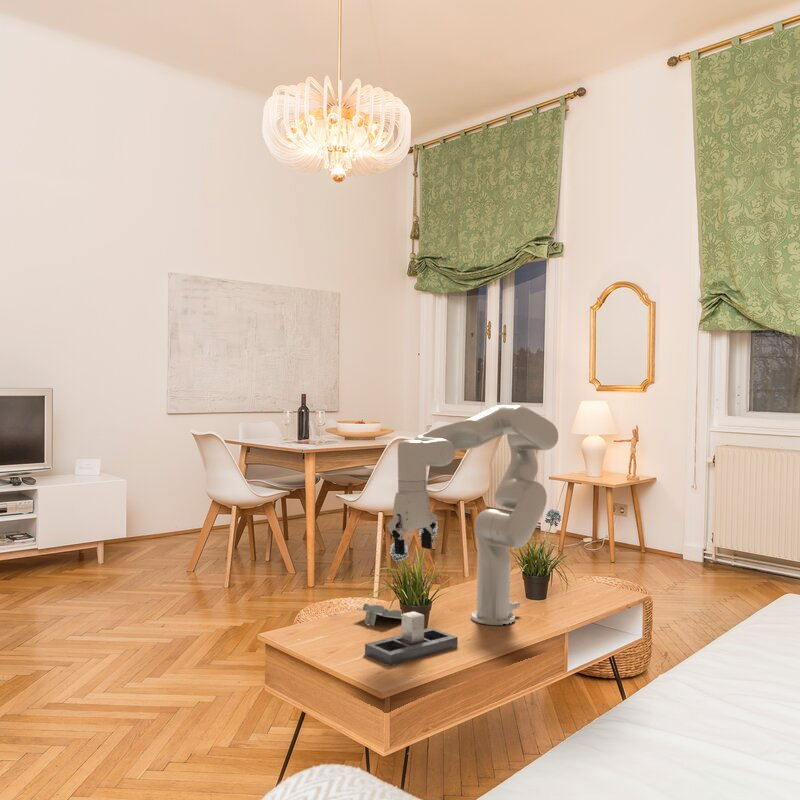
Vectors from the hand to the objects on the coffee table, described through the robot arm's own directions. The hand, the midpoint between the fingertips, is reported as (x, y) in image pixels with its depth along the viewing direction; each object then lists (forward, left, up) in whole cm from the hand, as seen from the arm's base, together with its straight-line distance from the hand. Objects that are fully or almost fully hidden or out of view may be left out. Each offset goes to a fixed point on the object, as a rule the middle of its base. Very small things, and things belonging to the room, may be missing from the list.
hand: (413, 551), depth 191 cm
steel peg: (+7, +8, -23) cm, 25 cm away
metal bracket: (-3, -16, -24) cm, 29 cm away
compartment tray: (+7, +8, -23) cm, 25 cm away
